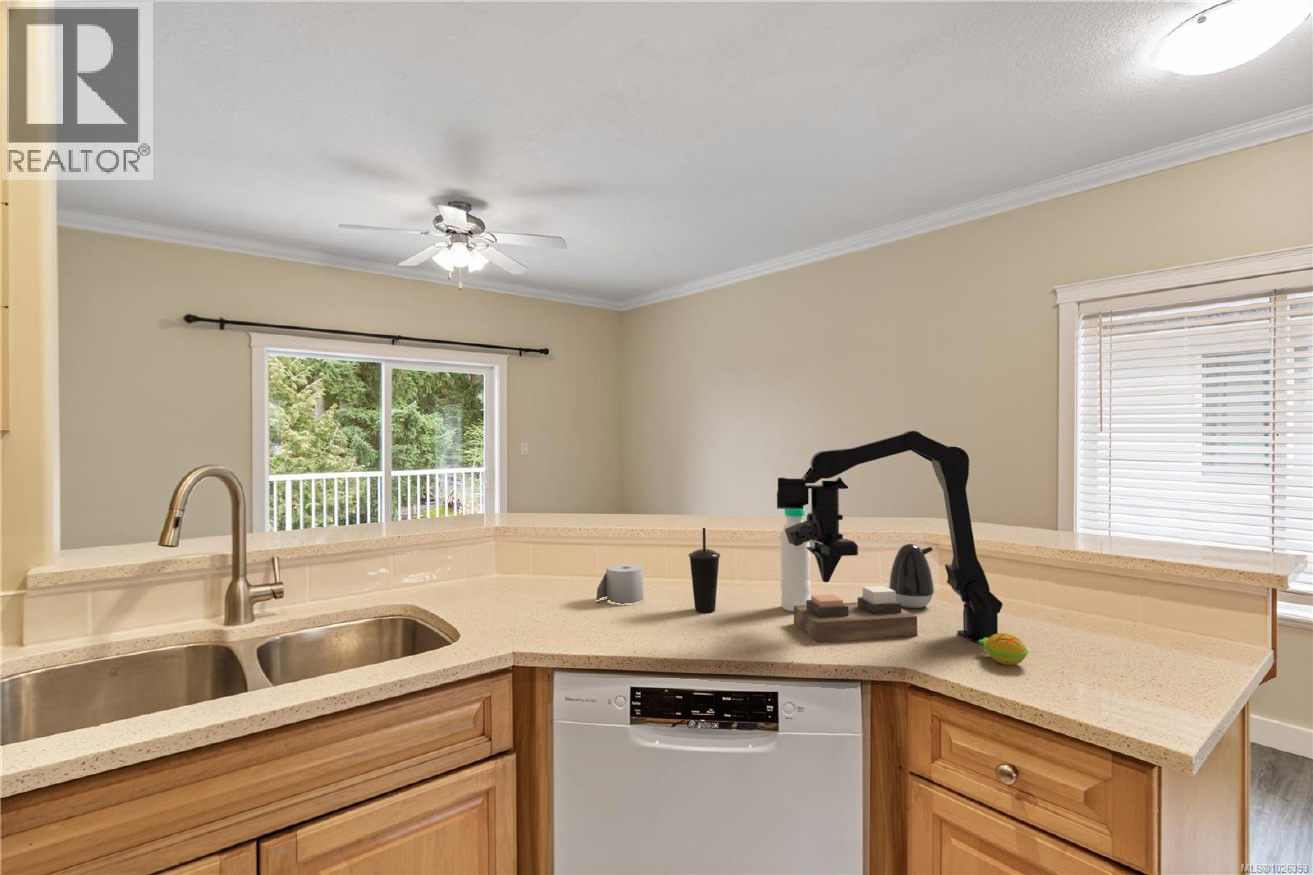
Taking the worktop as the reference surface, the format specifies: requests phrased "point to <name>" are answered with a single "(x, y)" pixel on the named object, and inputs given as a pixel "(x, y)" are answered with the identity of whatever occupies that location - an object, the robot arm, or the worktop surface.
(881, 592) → the white key
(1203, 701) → the worktop surface
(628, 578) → the toilet tissue
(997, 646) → the maraca
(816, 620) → the console
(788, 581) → the water bottle
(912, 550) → the pump dispenser
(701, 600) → the drinking cup
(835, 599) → the terracotta key
